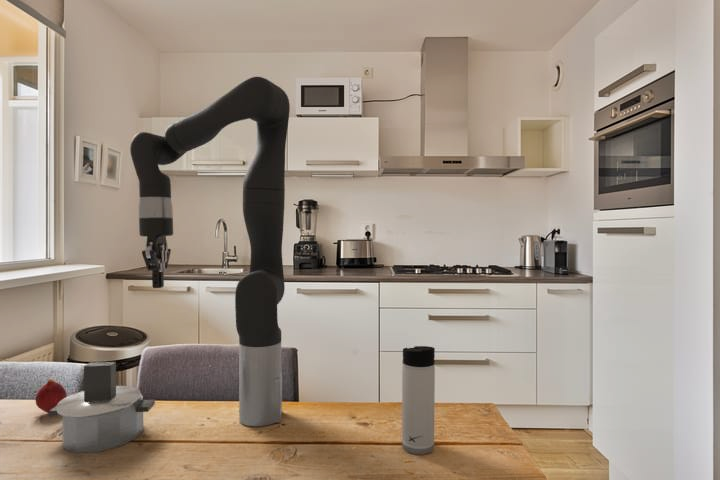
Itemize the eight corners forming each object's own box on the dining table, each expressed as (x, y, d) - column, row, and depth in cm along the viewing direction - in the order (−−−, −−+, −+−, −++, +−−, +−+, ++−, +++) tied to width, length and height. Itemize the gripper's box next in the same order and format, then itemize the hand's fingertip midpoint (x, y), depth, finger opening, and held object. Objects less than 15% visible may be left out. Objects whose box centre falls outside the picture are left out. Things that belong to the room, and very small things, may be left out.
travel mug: (414, 459, 82) (415, 351, 82) (395, 443, 88) (396, 343, 88) (441, 451, 85) (442, 347, 85) (421, 437, 91) (422, 340, 91)
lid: (151, 388, 98) (150, 353, 97) (123, 415, 83) (123, 374, 83) (80, 390, 96) (79, 354, 96) (39, 419, 81) (39, 377, 81)
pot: (162, 418, 99) (162, 387, 99) (138, 449, 85) (138, 413, 85) (73, 422, 97) (73, 390, 97) (34, 454, 83) (34, 417, 83)
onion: (72, 408, 105) (72, 375, 104) (53, 419, 99) (52, 383, 99) (49, 407, 105) (49, 374, 105) (29, 417, 100) (28, 382, 99)
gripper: (162, 215, 102) (164, 290, 102) (180, 217, 115) (182, 284, 115) (128, 215, 101) (130, 291, 102) (150, 218, 115) (152, 285, 115)
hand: (158, 287), depth 109 cm, fingers closed
